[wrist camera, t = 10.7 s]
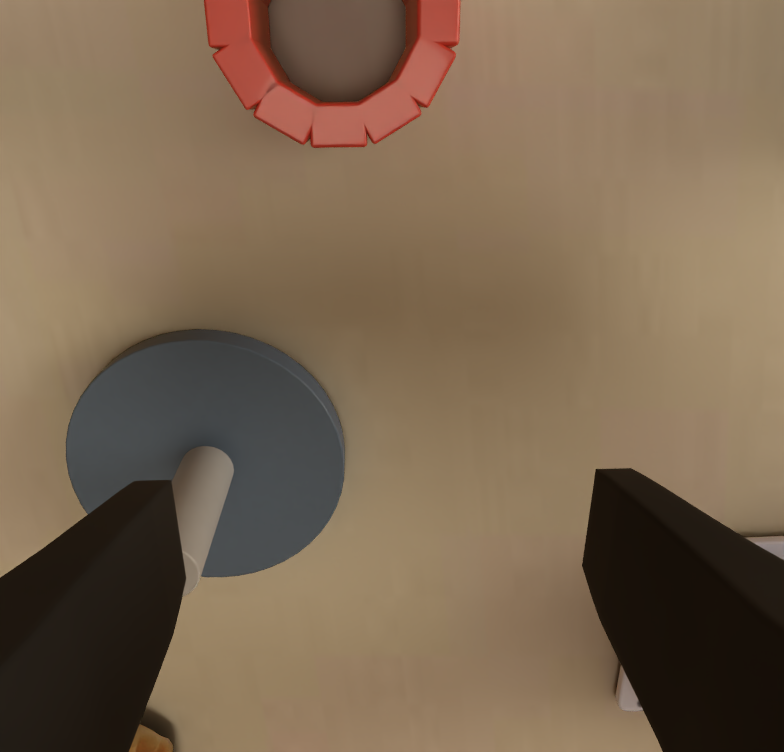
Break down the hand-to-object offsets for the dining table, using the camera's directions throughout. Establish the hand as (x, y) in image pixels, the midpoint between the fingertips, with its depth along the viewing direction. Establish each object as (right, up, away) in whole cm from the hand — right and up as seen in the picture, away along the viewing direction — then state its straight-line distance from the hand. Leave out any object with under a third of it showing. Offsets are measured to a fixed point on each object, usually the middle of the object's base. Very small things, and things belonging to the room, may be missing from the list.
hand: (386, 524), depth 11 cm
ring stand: (-6, 0, +10) cm, 11 cm away
